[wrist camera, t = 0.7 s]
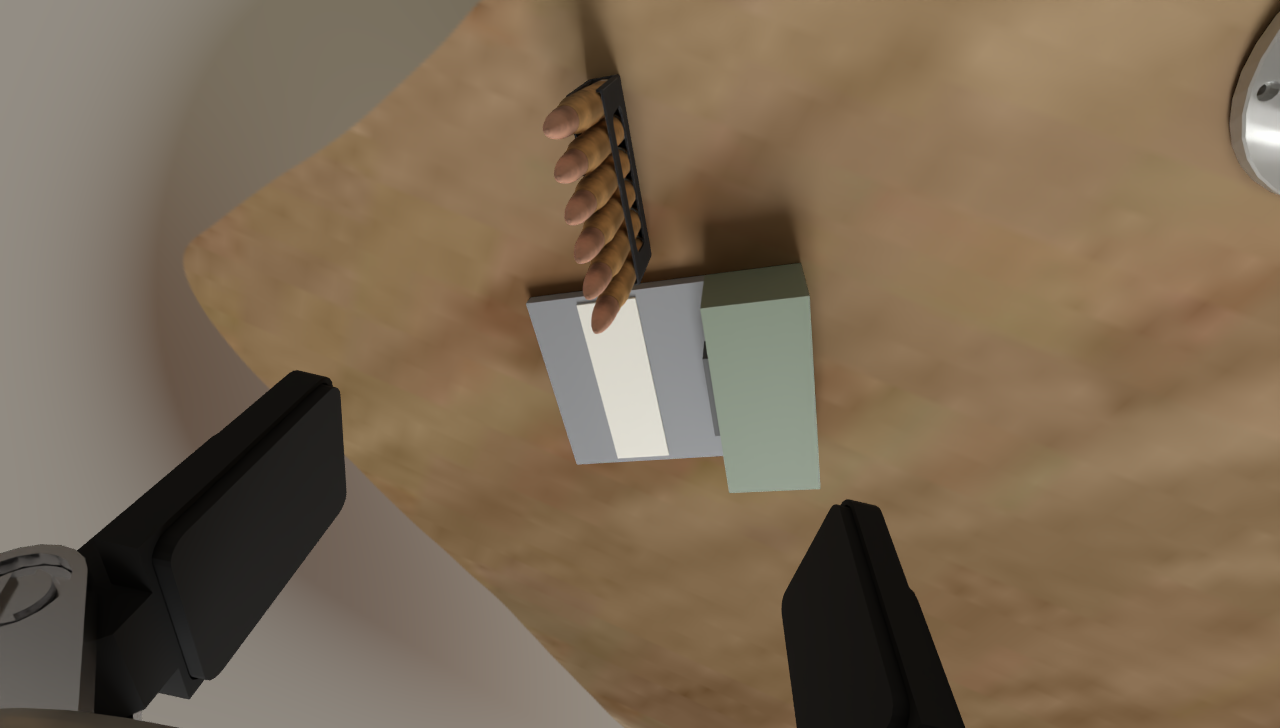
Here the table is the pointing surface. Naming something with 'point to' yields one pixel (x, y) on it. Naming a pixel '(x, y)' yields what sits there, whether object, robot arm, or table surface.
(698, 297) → the plate with green block
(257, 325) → the table surface
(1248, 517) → the table surface
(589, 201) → the ammunition clip
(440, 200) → the table surface
